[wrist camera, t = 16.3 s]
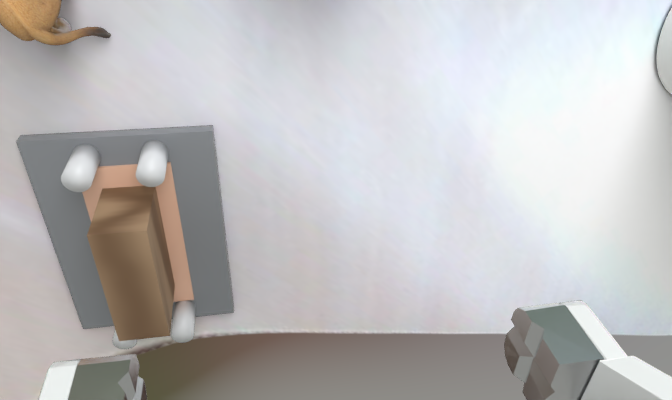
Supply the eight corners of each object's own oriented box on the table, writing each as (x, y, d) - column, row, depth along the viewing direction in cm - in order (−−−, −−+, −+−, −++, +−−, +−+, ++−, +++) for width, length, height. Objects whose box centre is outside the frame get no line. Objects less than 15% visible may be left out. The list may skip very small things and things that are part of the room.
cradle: (212, 125, 41) (212, 153, 38) (233, 305, 53) (234, 340, 49) (20, 135, 39) (0, 166, 36) (85, 321, 51) (74, 359, 47)
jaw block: (155, 184, 42) (146, 230, 37) (174, 285, 48) (169, 335, 44) (102, 188, 42) (86, 235, 37) (129, 289, 48) (119, 341, 43)
